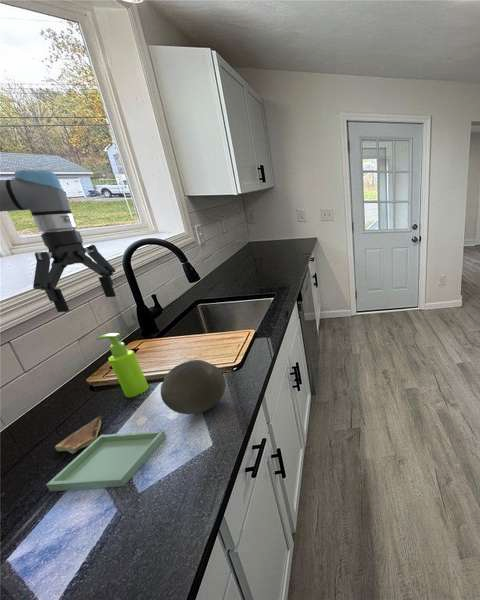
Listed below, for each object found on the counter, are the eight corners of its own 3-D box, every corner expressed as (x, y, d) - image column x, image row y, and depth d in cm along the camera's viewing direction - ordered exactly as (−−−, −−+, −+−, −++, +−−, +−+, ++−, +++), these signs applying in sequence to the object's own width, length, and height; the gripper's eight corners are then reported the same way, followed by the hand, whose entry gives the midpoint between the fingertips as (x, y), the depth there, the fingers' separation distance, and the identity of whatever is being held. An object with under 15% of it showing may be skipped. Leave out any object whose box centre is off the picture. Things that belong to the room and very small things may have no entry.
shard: (102, 419, 86) (100, 414, 86) (124, 422, 85) (122, 417, 84) (55, 451, 77) (52, 445, 76) (79, 455, 75) (75, 449, 74)
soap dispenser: (130, 386, 100) (105, 331, 92) (153, 384, 100) (129, 328, 93) (116, 398, 94) (88, 340, 87) (141, 396, 95) (115, 338, 88)
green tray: (50, 491, 66) (45, 484, 65) (104, 440, 79) (101, 434, 78) (124, 486, 66) (120, 479, 66) (166, 436, 79) (163, 430, 78)
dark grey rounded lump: (183, 400, 92) (166, 356, 87) (235, 389, 96) (222, 346, 90) (164, 435, 80) (143, 386, 74) (225, 421, 83) (209, 374, 77)
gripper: (14, 235, 74) (52, 318, 80) (114, 225, 98) (137, 290, 104) (-13, 237, 75) (27, 319, 81) (93, 227, 98) (117, 292, 105)
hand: (89, 303), depth 93 cm, fingers open, 13 cm apart
